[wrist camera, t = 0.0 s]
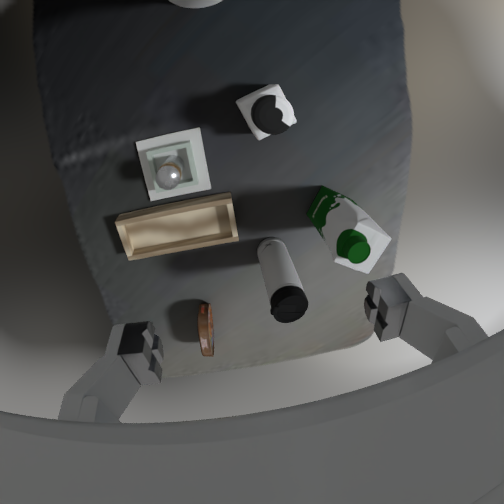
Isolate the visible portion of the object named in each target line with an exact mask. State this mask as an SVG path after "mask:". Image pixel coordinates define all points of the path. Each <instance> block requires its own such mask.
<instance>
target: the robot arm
mask: <svg viewBox="0 0 504 504" xmlns="http://www.w3.org/2000/svg"><path fill="white" fill-rule="evenodd" d="M169 1H170V2H172V3H173V4H176V5H178V6H181V7H186V8H202V7H207V6H211V5H214V4H217V3H219V2H221V1H222V0H169ZM366 291H367V292H368V295H367V297H366V298H365V301H364V308H365V314H366V316H367V319H368V320H369V322H371V323H373V324H375V326H374V331H375V333H376V335H377V337H378V338H379V340H380V342H382V341H385V340H389V339H392V338H396V337H400V338H401V339H403V340H404V341H405V342H407V343H408V344H410V345H411V346H413V347H414V348H416V349H417V350H419V351H420V352H422V353H423V354H425V355H426V356H427V357H429V358H431V359H432V360H433V361H432V363H431V364H430V365H427V366H425V367H422V368H420V369H417V370H415V371H412V372H409V373H407V374H404V375H401V376H399V377H396V378H393V379H390V380H387V381H384V382H381V383H378V384H375V385H372V386H368V387H365V388H362V389H359V390H355V391H352V392H349V393H345V394H341V395H338V396H334V397H330V398H326V399H322V400H318V401H314V402H310V403H305V404H301V405H296V406H291V407H286V408H281V409H276V410H271V411H265V412H259V413H253V414H246V415H239V416H232V417H224V418H217V419H216V418H215V419H206V420H196V421H183V422H165V423H121V422H120V421H119V418H120V417H121V415H122V414H123V412H124V411H125V409H126V408H127V406H128V405H129V403H130V402H131V400H132V399H133V397H134V396H135V394H136V393H137V391H138V390H139V388H140V387H141V386H140V385H148V384H158V383H161V378H162V368H161V366H160V363H161V362H162V361H163V357H164V352H163V345H162V342H161V339H160V337H159V336H158V335H156V334H154V333H155V327H154V325H153V323H152V322H150V321H146V322H137V323H127V324H119V325H114V326H113V328H112V331H111V334H110V338H109V341H108V345H107V348H106V352H105V356H104V357H100V358H99V359H98V360H97V362H95V363H94V364H93V366H92V367H91V368H90V369H89V370H88V371H87V372H86V373H85V374H84V375H83V376H82V377H81V378H80V379H79V380H78V381H77V382H76V383H75V384H74V385H73V386H72V387H71V388H70V389H69V390H68V391H67V392H66V394H64V398H63V401H62V405H61V409H60V413H59V416H58V420H56V419H47V418H39V417H32V416H25V415H19V414H13V413H8V412H3V411H0V504H504V329H503V330H502V331H500V332H498V333H496V334H494V335H492V336H490V337H488V336H487V334H486V333H485V332H484V330H483V329H482V328H481V327H480V325H479V324H478V323H477V322H476V320H475V319H474V318H473V317H471V316H469V315H466V314H464V313H462V312H459V311H458V310H455V309H453V308H451V307H449V306H446V305H444V304H442V303H440V302H437V301H435V300H433V299H431V298H428V297H424V298H423V296H422V295H421V294H420V292H419V291H418V290H417V289H416V288H415V286H414V285H413V284H412V283H411V281H410V280H409V279H408V278H407V277H406V275H405V274H403V273H399V274H395V275H392V276H388V277H384V278H380V279H376V280H372V281H368V283H367V286H366Z"/></svg>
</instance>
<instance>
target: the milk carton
mask: <svg viewBox="0 0 504 504" xmlns="http://www.w3.org/2000/svg"><path fill="white" fill-rule="evenodd" d="M307 216H308V217H309V219H310V220H311V221H312V223H313V224H314V226H315V227H316V229H317V230H318V232H319V233H320V235H321V236H322V238H323V239H324V241H325V243H326V244H327V246H328V247H329V249H330V250H331V253H332V257H333V261H334V262H336V263H339V264H341V265H344V266H347V267H349V268H352V269H354V270H356V271H358V270H359V271H361V272H364V273H367V274H368V273H369V272H370V271H371V269H372V268H373V266H374V265H375V263H376V262H377V260H378V259H379V257H380V256H381V254H382V253H383V251H384V250H385V248H386V247H387V245H388V243H389V242H390V240H391V238H390V237H389V236H388V235H387V234H386V233H385V232H384V231H383V230H382V229H381V228H380V227H379V226H378V225H377V224H376V222H375V221H373V220H372V219H371V217H370V216H369V215H368V214H367V213H366V212H365V211H363V210H362V209H361V208H360V207H359V206H358V205H357V204H356V203H355V202H354V201H353V200H351V199H350V198H348V197H346V196H344V195H342V194H339V193H337V192H335V191H333V190H331V189H329V188H326V187H324V186H322V187H321V188H320V190H319V192H318V194H317V196H316V198H315V199H314V201H313V203H312V205H311V207H310V209H309V210H308V212H307Z"/></svg>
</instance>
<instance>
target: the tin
mask: <svg viewBox="0 0 504 504" xmlns="http://www.w3.org/2000/svg"><path fill="white" fill-rule="evenodd" d="M198 334H199V341H200V347H201V352H202V355H203V356H212V357H213V355H214V329H213V320H212V310H211V304H210V303H209V304H200V305H199V313H198Z"/></svg>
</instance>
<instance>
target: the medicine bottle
mask: <svg viewBox="0 0 504 504" xmlns="http://www.w3.org/2000/svg"><path fill="white" fill-rule="evenodd" d="M236 104H237V105H238V107H239V109H240V111H241V113H242V115H243V116H244V118H245V120H246V122H247V124H248V126H249V127H250V129H251V131H252V133H253V134H254V135H255V137H256V138H257V139H258V140H261V139H263V138H265V137H267V136H269V135H276V134H280V133H283V132H284V131H286V130H287V129H288V128H289V127H290V126H291V125H292V124H294V123H296V118H295V116H294V112H293V108H292V106H291V104H290V103H289V102H288V101H287V100H286V98H285V96H284V94H283V92H282V90H281V88H280V86H279V85H267V86H265V87H263V88H261V89H259V90H257V91H255V92H252V93H250V94H248V95H246V96H244V97H242V98H240V99H238V100H236Z"/></svg>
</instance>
